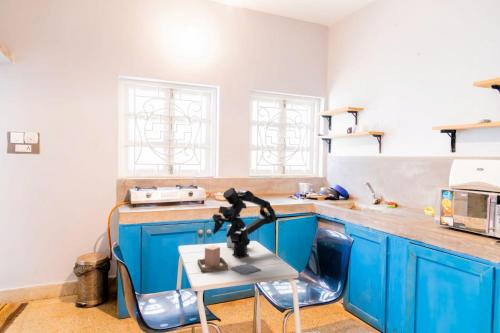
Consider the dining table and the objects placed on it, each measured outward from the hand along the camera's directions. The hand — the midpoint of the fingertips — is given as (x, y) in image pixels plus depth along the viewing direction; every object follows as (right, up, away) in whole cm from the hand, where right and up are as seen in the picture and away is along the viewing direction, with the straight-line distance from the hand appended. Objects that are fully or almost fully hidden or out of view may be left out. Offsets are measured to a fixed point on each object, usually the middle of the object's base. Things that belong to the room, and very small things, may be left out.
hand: (220, 235), depth 156 cm
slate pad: (+13, -14, -10) cm, 21 cm away
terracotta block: (-3, -14, -6) cm, 15 cm away
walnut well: (-3, -14, -6) cm, 15 cm away
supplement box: (+6, -13, +29) cm, 33 cm away
